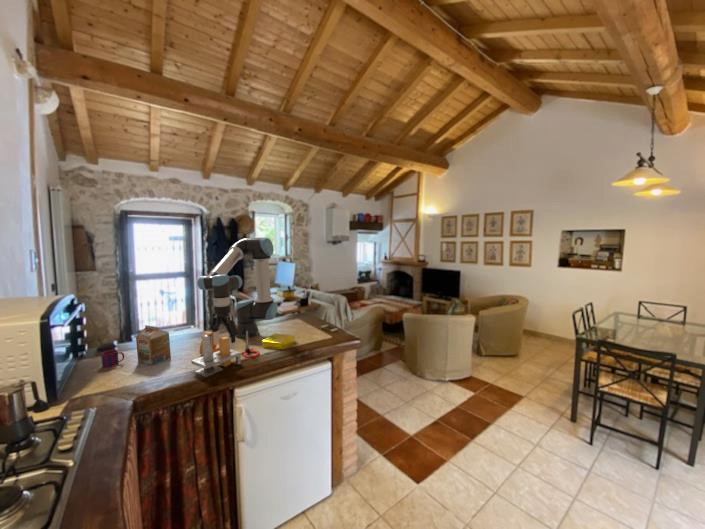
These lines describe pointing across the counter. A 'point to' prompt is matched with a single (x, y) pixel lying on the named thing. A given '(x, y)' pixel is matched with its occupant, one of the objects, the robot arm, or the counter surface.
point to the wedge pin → (224, 349)
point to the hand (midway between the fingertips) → (224, 346)
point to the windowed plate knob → (212, 358)
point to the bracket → (215, 347)
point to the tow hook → (249, 349)
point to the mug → (110, 358)
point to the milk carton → (152, 346)
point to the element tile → (278, 341)
